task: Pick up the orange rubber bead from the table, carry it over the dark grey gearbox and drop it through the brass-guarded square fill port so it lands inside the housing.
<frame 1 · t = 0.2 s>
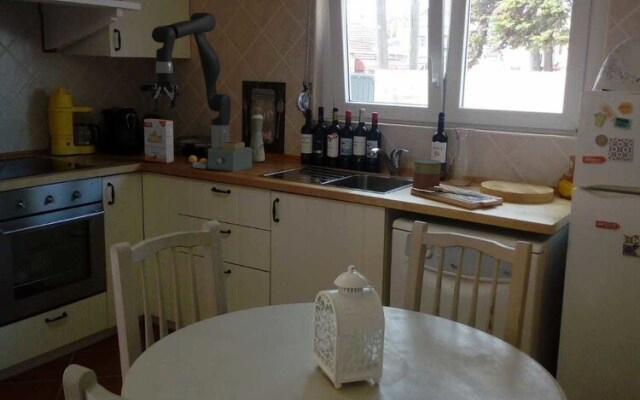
hand: (165, 107, 306), 28 cm above the table, tool pointing down, fingers open, 8 cm apart
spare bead: (203, 166, 314), point 1 cm above the table, touching bead dish
bead: (192, 163, 328), on the table
canned food: (425, 190, 276), on the table
gearbox: (230, 169, 314), on the table
cracker box: (159, 161, 331), on the table
bottle: (256, 162, 339), on the table
bead dish: (203, 168, 314), on the table
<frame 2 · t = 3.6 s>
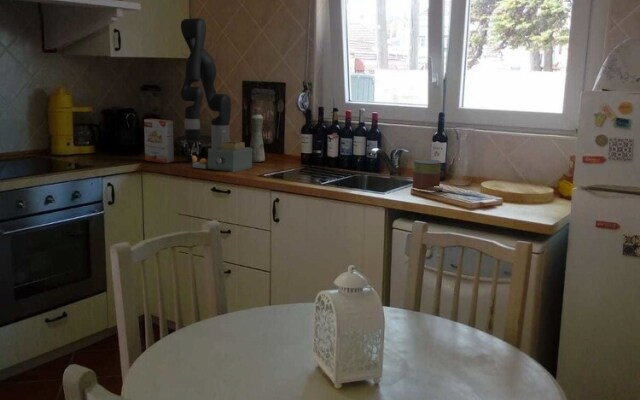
hand: (192, 162, 328), 1 cm above the table, tool pointing down, fingers closed on bead, 4 cm apart
bead: (192, 163, 328), on the table, touching gripper
everything else where it was.
when the fingers open (14 cm above the table, at t = 8.6 s): bead drops 13 cm, resting on gearbox.
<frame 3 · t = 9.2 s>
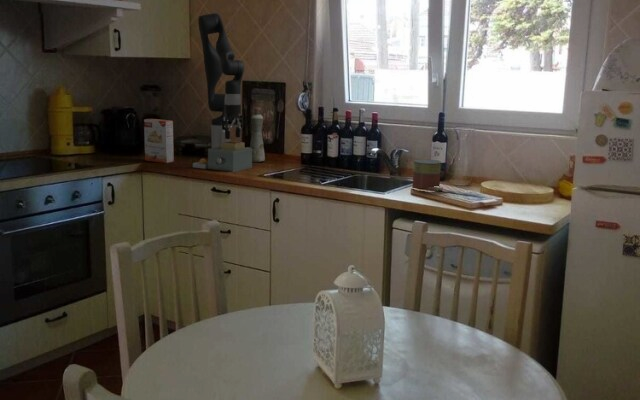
hand: (232, 138, 312), 15 cm above the table, tool pointing down, fingers open, 8 cm apart
bead: (232, 167, 315), point 1 cm above the table, touching gearbox
everything else where it was.
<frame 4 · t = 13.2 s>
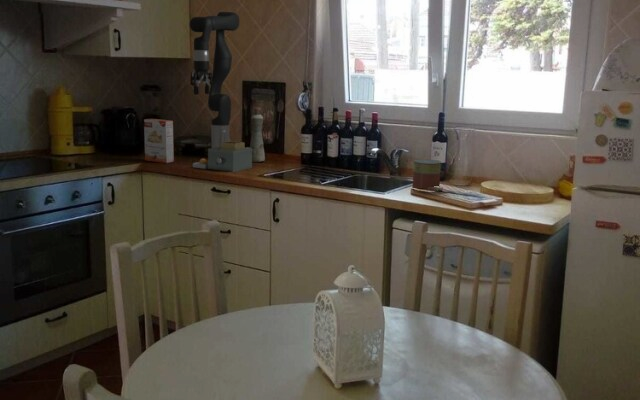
hand: (201, 94, 320), 34 cm above the table, tool pointing down, fingers open, 8 cm apart
nothing on the table moved.
at the end: bead inside the target area on the gearbox (2.0 cm from its centre), point 0.6 cm above the gearbox's base; the gripper is holding nothing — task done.
